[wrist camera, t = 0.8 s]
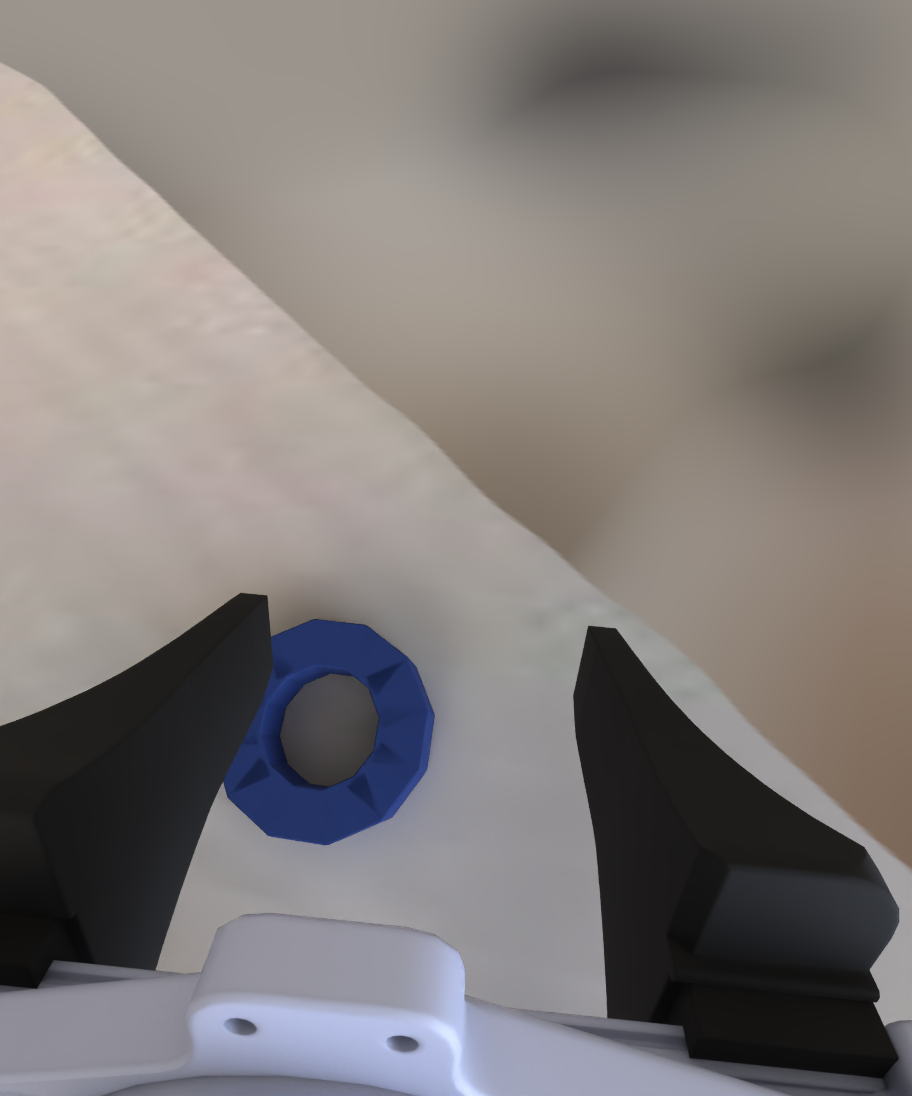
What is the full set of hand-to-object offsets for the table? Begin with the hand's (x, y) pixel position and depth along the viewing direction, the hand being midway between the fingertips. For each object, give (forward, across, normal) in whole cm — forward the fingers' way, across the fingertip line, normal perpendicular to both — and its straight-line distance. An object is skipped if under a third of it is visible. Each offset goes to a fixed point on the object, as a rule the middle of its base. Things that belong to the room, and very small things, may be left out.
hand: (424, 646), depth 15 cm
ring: (+9, +4, +12) cm, 16 cm away
